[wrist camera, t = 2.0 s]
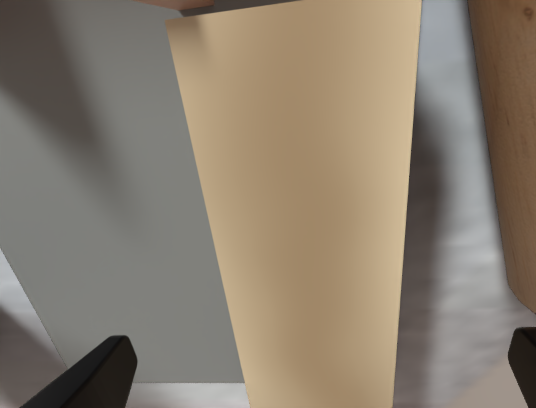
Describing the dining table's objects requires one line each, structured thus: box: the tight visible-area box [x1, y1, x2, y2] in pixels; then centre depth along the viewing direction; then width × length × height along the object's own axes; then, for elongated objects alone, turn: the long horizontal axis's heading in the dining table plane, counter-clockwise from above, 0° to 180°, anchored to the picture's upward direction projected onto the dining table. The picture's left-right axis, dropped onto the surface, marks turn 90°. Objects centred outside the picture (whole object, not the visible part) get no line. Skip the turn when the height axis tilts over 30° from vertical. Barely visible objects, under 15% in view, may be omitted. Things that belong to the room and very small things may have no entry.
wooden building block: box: [165, 0, 422, 408], centre depth 10 cm, size 4×14×4 cm, turn 7°
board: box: [0, 0, 300, 383], centre depth 11 cm, size 15×21×1 cm
